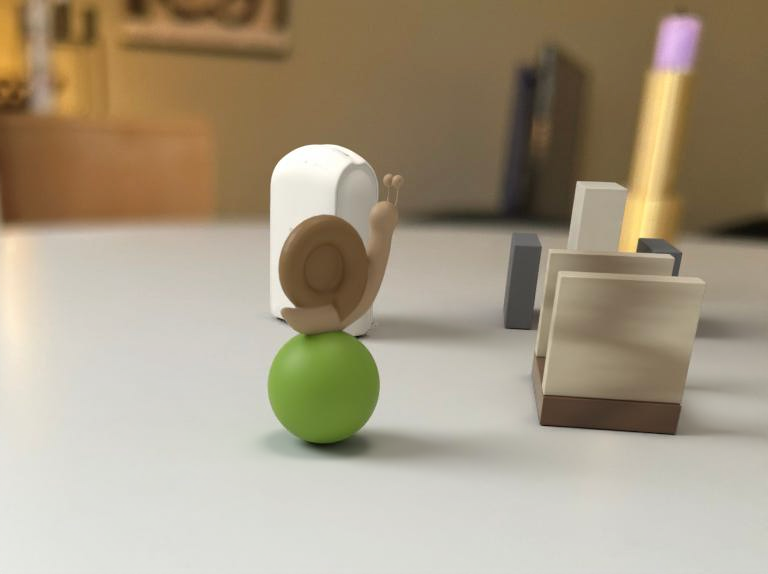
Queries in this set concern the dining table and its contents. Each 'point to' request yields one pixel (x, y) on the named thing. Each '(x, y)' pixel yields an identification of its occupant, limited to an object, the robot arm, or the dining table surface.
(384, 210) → the snail figurine
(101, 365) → the dining table surface
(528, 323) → the grey bookends
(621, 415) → the wooden card holder
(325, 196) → the white rounded block
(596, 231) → the white book
